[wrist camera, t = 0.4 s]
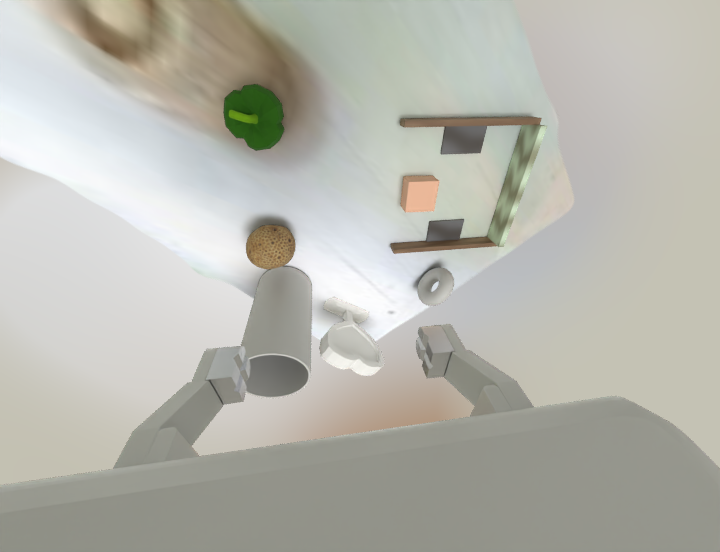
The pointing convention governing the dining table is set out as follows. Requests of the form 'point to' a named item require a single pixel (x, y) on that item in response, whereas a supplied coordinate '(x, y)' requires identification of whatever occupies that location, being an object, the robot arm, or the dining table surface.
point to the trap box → (469, 139)
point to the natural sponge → (270, 246)
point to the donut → (442, 290)
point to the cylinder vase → (279, 334)
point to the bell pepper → (254, 116)
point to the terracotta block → (419, 193)
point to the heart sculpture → (350, 341)
